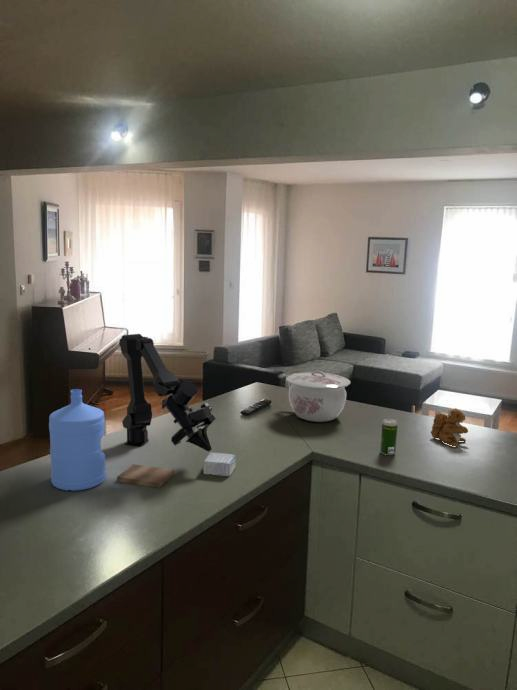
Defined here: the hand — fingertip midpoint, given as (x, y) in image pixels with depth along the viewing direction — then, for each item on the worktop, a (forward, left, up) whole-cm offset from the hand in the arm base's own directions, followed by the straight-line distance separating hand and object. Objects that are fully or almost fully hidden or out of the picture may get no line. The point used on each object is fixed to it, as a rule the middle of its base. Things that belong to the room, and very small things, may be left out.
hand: (210, 450), depth 166 cm
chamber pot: (+23, +68, -7) cm, 73 cm away
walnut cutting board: (-17, -11, -7) cm, 21 cm away
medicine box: (-2, +1, -5) cm, 5 cm away
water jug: (-35, -19, -7) cm, 40 cm away
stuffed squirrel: (+76, +56, -7) cm, 94 cm away
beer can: (+54, +35, -7) cm, 65 cm away
